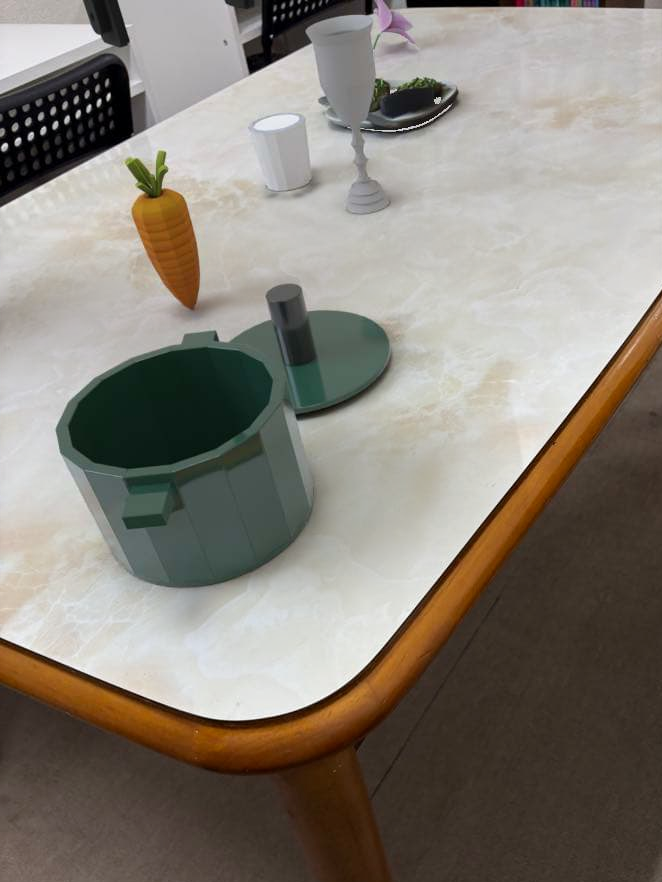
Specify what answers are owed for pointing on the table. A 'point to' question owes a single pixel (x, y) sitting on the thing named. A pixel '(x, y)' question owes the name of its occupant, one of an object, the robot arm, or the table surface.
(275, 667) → the table surface
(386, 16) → the lily
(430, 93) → the salad plate
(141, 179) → the carrot
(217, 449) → the pot
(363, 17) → the chalice
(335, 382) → the lid
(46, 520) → the table surface
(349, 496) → the table surface
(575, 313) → the table surface
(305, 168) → the shot glass
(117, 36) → the robot arm
